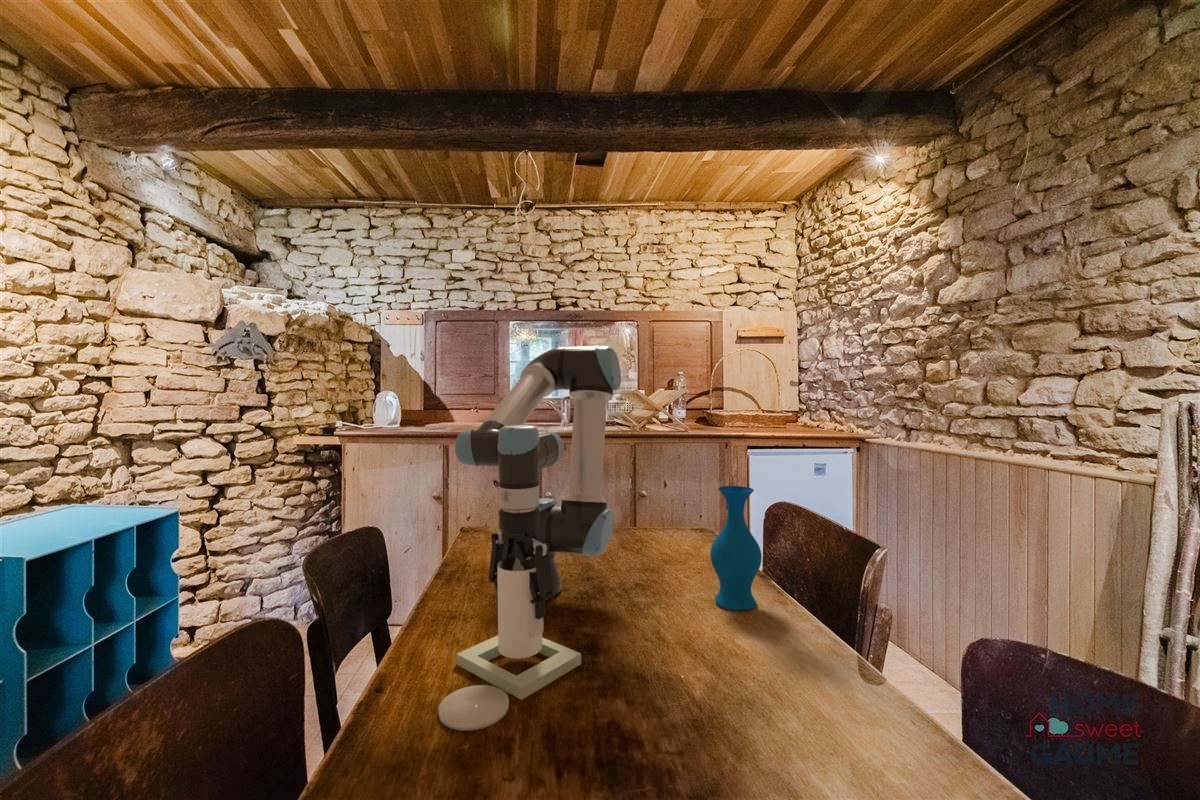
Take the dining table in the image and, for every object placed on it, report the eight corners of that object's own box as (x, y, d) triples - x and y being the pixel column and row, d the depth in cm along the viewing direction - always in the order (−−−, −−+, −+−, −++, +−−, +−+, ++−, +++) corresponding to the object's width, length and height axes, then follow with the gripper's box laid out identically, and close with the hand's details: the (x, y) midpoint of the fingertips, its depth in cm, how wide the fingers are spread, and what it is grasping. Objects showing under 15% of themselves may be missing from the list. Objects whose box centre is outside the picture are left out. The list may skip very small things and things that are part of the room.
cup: (534, 660, 94) (533, 572, 93) (491, 656, 95) (490, 569, 95) (547, 638, 102) (547, 557, 101) (508, 635, 103) (507, 555, 103)
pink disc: (424, 711, 83) (424, 706, 83) (480, 682, 92) (480, 678, 92) (466, 740, 76) (466, 735, 76) (523, 706, 85) (523, 701, 85)
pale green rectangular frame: (456, 664, 98) (456, 653, 98) (516, 636, 109) (516, 626, 109) (521, 699, 86) (521, 687, 86) (581, 664, 98) (581, 653, 98)
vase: (762, 597, 131) (762, 486, 131) (760, 617, 119) (760, 495, 119) (713, 591, 135) (713, 483, 135) (707, 610, 123) (707, 491, 123)
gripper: (468, 503, 102) (469, 618, 102) (544, 521, 88) (545, 653, 89) (498, 497, 107) (499, 605, 108) (574, 512, 94) (574, 636, 95)
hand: (520, 627), depth 98 cm, fingers closed on cup, 8 cm apart
